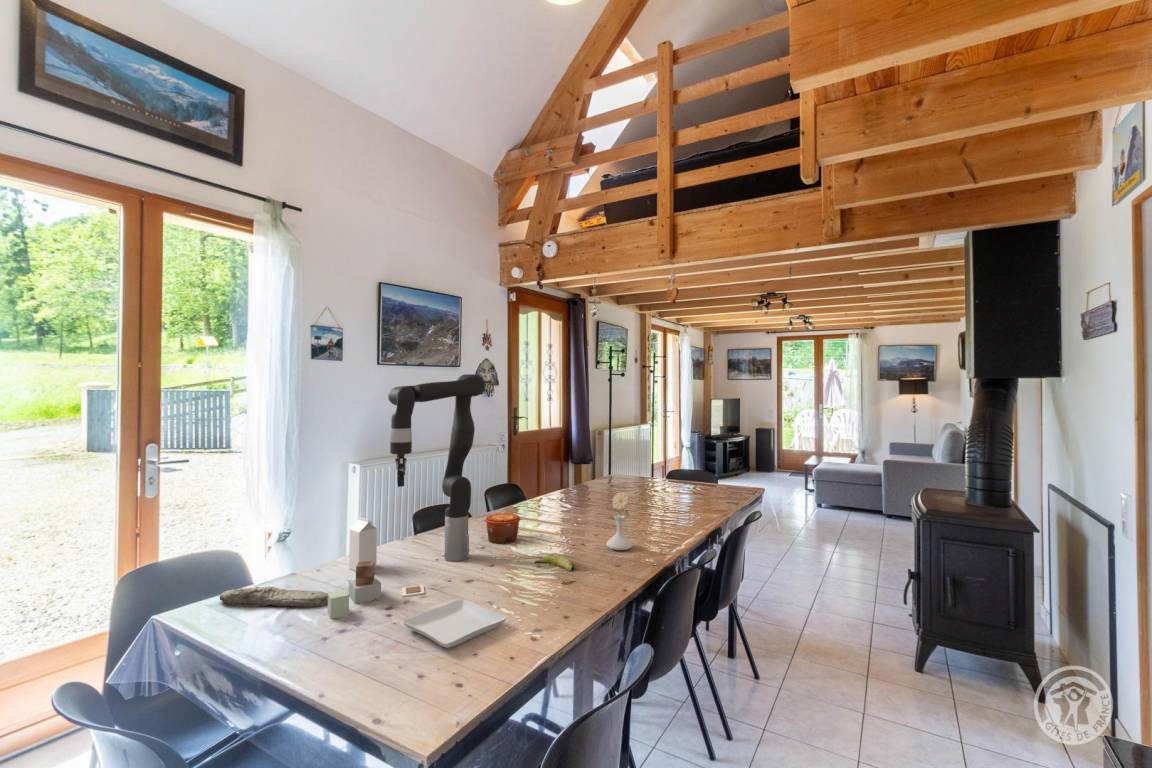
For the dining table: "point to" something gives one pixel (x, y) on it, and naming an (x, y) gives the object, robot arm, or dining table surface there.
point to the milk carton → (362, 543)
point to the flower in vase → (620, 524)
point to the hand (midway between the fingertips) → (400, 484)
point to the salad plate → (455, 622)
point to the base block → (364, 591)
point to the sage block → (338, 604)
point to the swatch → (413, 591)
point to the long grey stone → (274, 597)
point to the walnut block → (365, 573)
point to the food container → (502, 527)
